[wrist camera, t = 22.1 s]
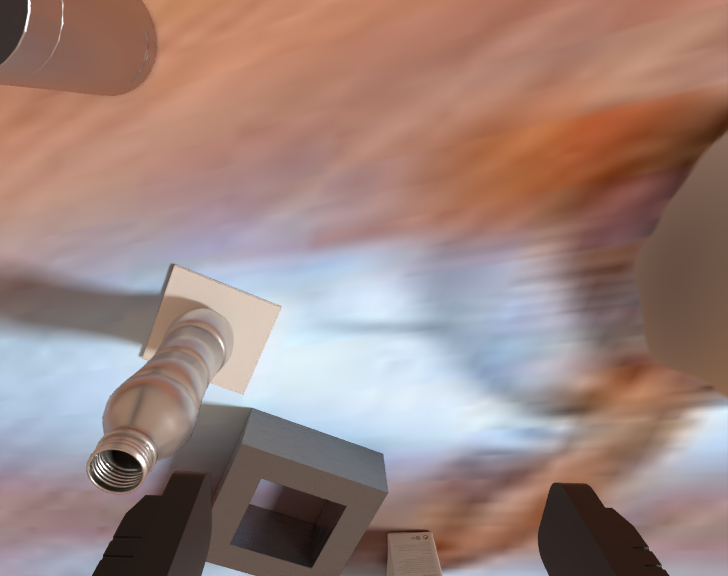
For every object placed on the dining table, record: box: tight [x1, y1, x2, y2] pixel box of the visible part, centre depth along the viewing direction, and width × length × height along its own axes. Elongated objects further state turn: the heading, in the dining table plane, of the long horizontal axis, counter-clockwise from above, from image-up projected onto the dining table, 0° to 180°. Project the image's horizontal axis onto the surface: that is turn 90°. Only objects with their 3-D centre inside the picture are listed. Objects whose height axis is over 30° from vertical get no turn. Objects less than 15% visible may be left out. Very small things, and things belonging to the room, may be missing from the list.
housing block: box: [206, 408, 388, 576], centre depth 53 cm, size 16×16×6 cm
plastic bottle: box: [87, 308, 234, 495], centre depth 38 cm, size 6×7×20 cm
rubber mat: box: [142, 265, 282, 395], centre depth 48 cm, size 11×11×1 cm
